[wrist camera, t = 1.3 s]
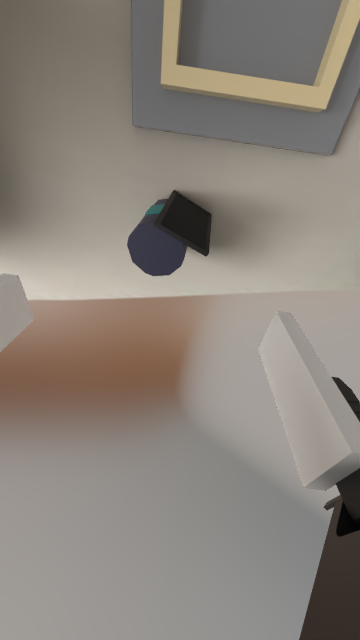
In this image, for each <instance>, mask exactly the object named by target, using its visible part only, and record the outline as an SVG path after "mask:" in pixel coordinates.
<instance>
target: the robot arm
mask: <svg viewBox="0 0 360 640" xmlns="http://www.w3.org/2000/svg"><path fill="white" fill-rule="evenodd" d="M33 320H34V318H33V315H32V312H31V309H30V306H29V303H28V301H27V298H26V295H25V292H24V289H23V287H22V284H21V281H20V278H19V276H18V275H10V274H2V275H0V352H1V351H2V350H3V349H4V348H5V347H6V346H7V345H8V344H9V343H10V342H11V341H12V340H13V339H14V338H15V337H16V336H18V334H20V333H21V332H22V331H23V330H24V329H25V328H26V327H27V326H28V325H29V324H30V323H31V322H32V321H33ZM258 350H259V353H260V357H261V360H262V363H263V365H264V369H265V372H266V375H267V378H268V381H269V384H270V387H271V390H272V393H273V396H274V399H275V402H276V405H277V409H278V412H279V414H280V418H281V420H282V424H283V427H284V430H285V433H286V436H287V439H288V442H289V445H290V448H291V451H292V454H293V457H294V460H295V464H296V466H297V469H298V472H299V476H300V479H301V482H302V485H303V487H304V488H309V489H318V490H325V491H326V490H327V489H329V488H331V487H332V486H334V485H337V488H338V490H339V492H340V494H341V495H339V496H338V497H336V498H334V499H332V500H330V501H329V502H327V503H326V505H325V506H324V508H325V509H326V510H329V509H331V508H333V507H334V510H333V514H332V517H331V521H330V525H329V529H328V532H327V536H326V540H325V544H324V548H323V551H322V555H321V559H320V563H319V567H318V570H317V574H316V578H315V582H314V586H313V589H312V593H311V597H310V601H309V605H308V609H307V612H306V616H305V620H304V624H303V627H302V631H301V635H300V639H299V640H360V402H359V400H358V399H357V397H356V396H355V394H354V393H353V391H352V390H351V389H350V388H349V387H348V386H347V385H346V384H345V383H344V382H343V381H342V380H340V379H339V378H336V377H331V376H330V374H329V373H328V371H327V369H326V368H325V366H324V365H323V363H322V361H321V360H320V358H319V357H318V355H317V354H316V352H315V350H314V349H313V347H312V346H311V344H310V342H309V341H308V339H307V338H306V336H305V334H304V333H303V331H302V330H301V328H300V327H299V325H298V323H297V322H296V320H295V319H294V317H293V315H292V314H291V313H287V312H280V311H276V313H275V315H274V317H273V319H272V321H271V323H270V326H269V328H268V330H267V332H266V334H265V336H264V339H263V341H262V343H261V345H260V347H259V349H258Z"/></svg>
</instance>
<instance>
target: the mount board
mask: <svg viewBox="0 0 360 640" xmlns="http://www.w3.org/2000/svg"><path fill="white" fill-rule="evenodd" d="M131 14H132V112H133V126H135V127H141V128H147V129H154V130H161V131H167V132H174V133H181V134H187V135H194V136H201V137H207V138H214V139H221V140H227V141H234V142H241V143H247V144H254V145H261V146H267V147H274V148H281V149H287V150H294V151H301V152H307V153H314V154H321V155H331V154H332V152H333V149H334V147H335V145H336V142H337V140H338V138H339V135H340V133H341V130H342V128H343V126H344V123H345V121H346V119H347V116H348V114H349V112H350V109H351V107H352V105H353V102H354V100H355V98H356V95H357V93H358V91H359V88H360V0H131Z"/></svg>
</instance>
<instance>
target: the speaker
mask: <svg viewBox="0 0 360 640" xmlns="http://www.w3.org/2000/svg"><path fill="white" fill-rule="evenodd" d="M211 217H212V214H210V213H209V212H207V211H206V210H204V209H203V208H201V207H200V206H198V205H196V204H195V203H193V202H192V201H190V200H189V199H187V198H186V197H184V196H183V195H181V194H179V193H178V192H176V191H175V190H173V192H172V194H171V195H170V197H169V199H162V200H158V201H157V202H156V203H155V204H154V205H153V206H151V207H150V209H149V210H148V211H147V212H146V214H145V216H144V218H143V219H142V220H141V222H140V223H139V224H138V225H137V227H136V228H135V229H134V231H133V232H132V233H131V234H130V236H129V238H128V244H127V246H128V249H129V252H130V255H131V259H132V262H134V263H135V264H136V265H137V266H138V267H139V268H140V269H141V270H143V271H144V272H145V273H147V274H149V275H152V276H163V275H170V274H171V273H173V272H174V271H175V270H176V269H178V268H179V267H180V266H181V265H182V262H183V260H184V257H185V253H186V249H187V246H189V247H191V248H192V249H194V250H196V251H197V252H199V253H201V254H203V255H204V256H207V255H208V254H209V244H210V230H211Z"/></svg>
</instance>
